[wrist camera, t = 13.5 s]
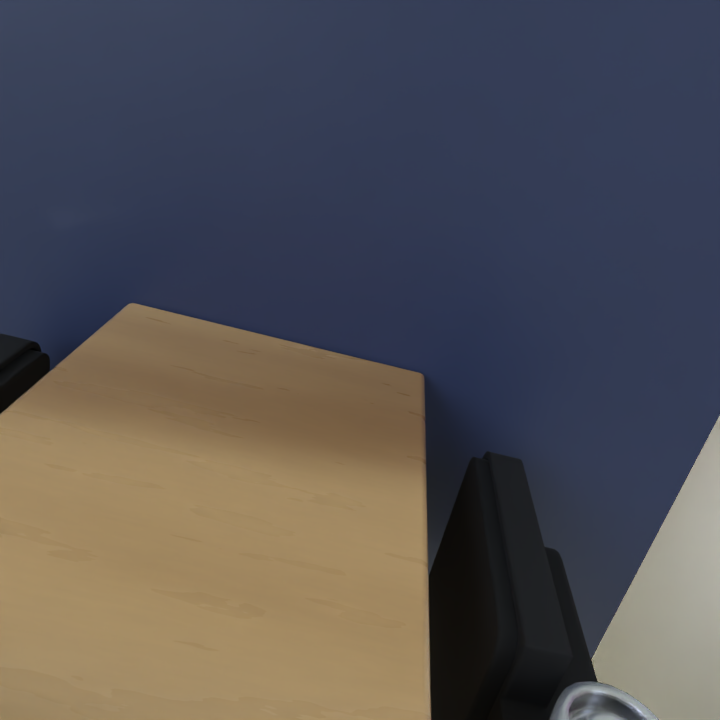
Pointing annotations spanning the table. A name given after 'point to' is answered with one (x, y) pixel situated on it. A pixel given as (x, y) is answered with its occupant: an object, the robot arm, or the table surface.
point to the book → (401, 219)
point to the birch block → (213, 531)
